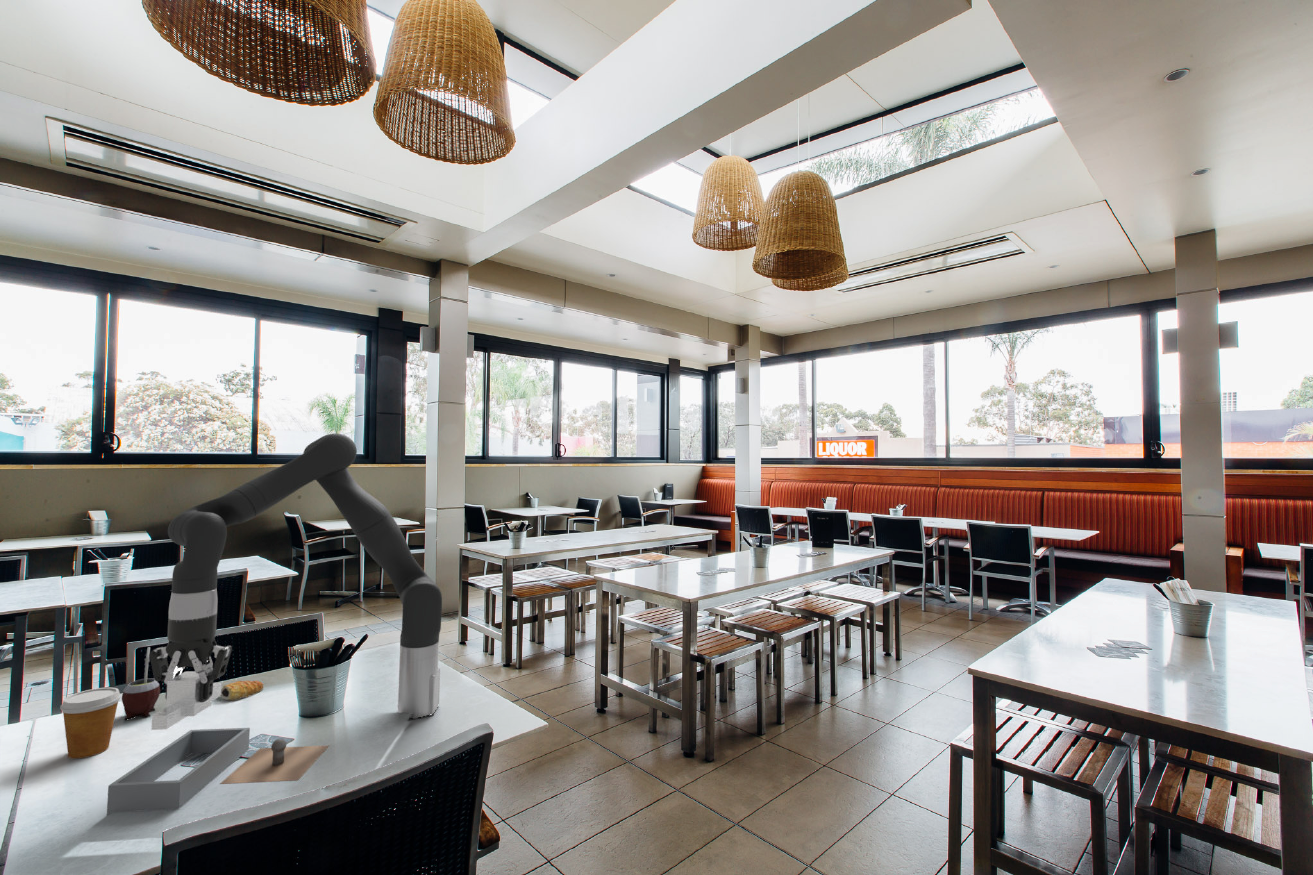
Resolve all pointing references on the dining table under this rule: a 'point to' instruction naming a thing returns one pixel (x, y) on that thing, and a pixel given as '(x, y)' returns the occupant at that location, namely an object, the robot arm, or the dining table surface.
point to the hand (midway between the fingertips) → (188, 700)
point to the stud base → (276, 772)
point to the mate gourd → (141, 695)
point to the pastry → (240, 689)
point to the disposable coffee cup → (89, 721)
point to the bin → (148, 794)
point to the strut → (182, 700)
